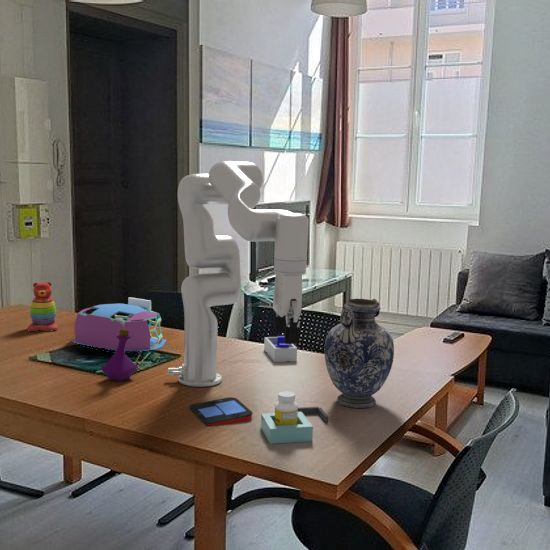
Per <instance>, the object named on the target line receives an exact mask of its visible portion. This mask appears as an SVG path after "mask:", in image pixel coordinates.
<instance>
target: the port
mask: <svg viewBox="0 0 550 550" xmlns="http://www.w3.org/2000/svg"><path fill="white" fill-rule="evenodd" d="M260 415H261V416H260V429H261V430H262V432H263V434H264V436H265V438H266V439H267V441H268V443H269V445H272V444H286V443H302V442H303V443H304V442H313V436H314V435H313V434H314V431H313V430H314V426H313V424H312V423H311V422H310V420H309V419H308V418H307V416H305V414H303V413H302V412H298V420H297V425H280V426H276V425H275V412H270V413H269V412H267V413H264V412H263V413H261V414H260Z"/></svg>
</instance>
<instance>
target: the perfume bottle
mask: <svg viewBox="0 0 550 550" xmlns="http://www.w3.org/2000/svg"><path fill="white" fill-rule="evenodd" d="M113 319H114V318H113ZM124 320H125V319H122V318H116V319H114V320H113V325H114V324H115V322H116V321H118V322H119V323H120V324H122V325H123V328H124V323H125V322H124ZM117 338H118V339H119V344H118V347H117V349H116V352H113V353H114V354H112V356H111V357H110V359H109V360H108V361H107V362H106V364H105V365H104V366H103V367H102V368H101V371H102V372H103V373H104V375H105V376H106V378H108V380H110V379H113V380H112V381H115V380H117V381H116V382H120V381H121V382H123V380H124V381H125V380H128V378H129V379H130V378H131V377H132V375H133V374H134V373H135V372H136V370H137V369H138V366H137V365H136V364H135V363H134V362H133V360H131V359H130V357H128V356H127V354H125V350H124V348H125V344H126V341H127V340H128V339H129V338H131V336H130V335H129V330H128V329H121V330H119V335H117Z"/></svg>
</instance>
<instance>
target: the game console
mask: <svg viewBox="0 0 550 550" xmlns="http://www.w3.org/2000/svg"><path fill="white" fill-rule="evenodd" d="M189 409H190V410H191V412H192V413H193V414H194V415H195V416H196V417H197V418H198V419H199V420H200V422H202V423H203V424H204V425H205V426H206V427H211V426H219V425H225V424H226V425H227V424H233V423H242V422H248V421H251V420H252V417H253V411H252V410H251V409H249V408H248V407H247V406H246V405H245V404H243V403H242V402H241V401H240V400H239V399H238V398H237V397H234V396H233V397H231V396H230V397H224V398H219V399H214V400H209V401H203V402H198V403H194V404H190V406H189Z"/></svg>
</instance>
